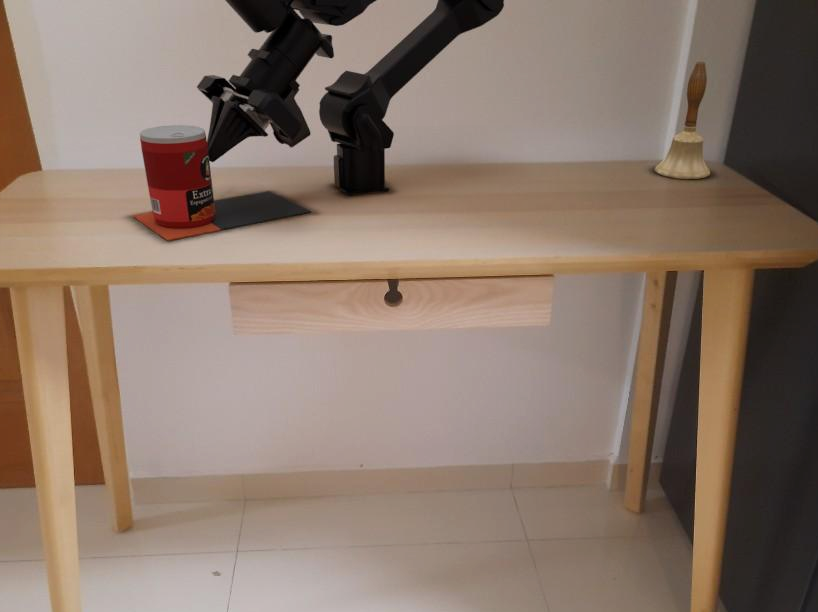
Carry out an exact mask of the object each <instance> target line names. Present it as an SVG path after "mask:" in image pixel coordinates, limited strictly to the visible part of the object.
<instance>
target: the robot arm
mask: <svg viewBox="0 0 818 612" xmlns="http://www.w3.org/2000/svg"><path fill="white" fill-rule="evenodd" d="M224 1H225V2H226V3H227V4H228V5H229V6H230V7H231V9H232V10H233V11H234V12H235V13H236V14H237V15H238V16H239V18H240V19H242V21H243V22H244V23H245V24H246V25H247V26H248V27H249V28H250V29H251V31H252V32H254V33H262V32H264V33H266V34H269V33H270V34H269V35H268V37H266V39H265V40H264V41H263V43H262V44H261V46H260V47H259V48H258V49H256V48H251V49H250V50H249V51H248V53H247V56H248V58H249V59H250V61H249V63H248V64H247V65H246V67H245V68H244V69H243V71H242V72H241V73H240V75H236V74H232V75H231V76H230V78H229V79H228V80H227V79H226V77H222V76H219V75H215V74H214V75H213V74H210V75H209V74H208V75H204V76H203V77H202V79H201V80H200V81H199V83H198V84H197V86H196V88H197V90H198V91H199V92H200V93H201V94H202V95H203V96H204V97H205V98H206V99H208V100H209V101H210V102H211V103H212V106H211V115H210V122H209V129H208V134H207V138H206V139H207V146H208V154H209V162H211V163H214V162H216V161H217V160H219V159H220V158H221V157H223V156H224V155H225V154H226V153H228V152H230V151H231V150H232V149H233V148H235V147H236V146H237V145H239V144H240V143H241V142H243V141H245V140H246V139H248V138H251V137H263V138H264V137H265V138H266V137H269V133H267V132H266V129H267V128H268V127H269V125H270V127H271V129H272V131H273V133H272V134H273V136H274V138H275V140H276V142H278V143H279V144H281V145H287V146H288V147H289V148H294V147H296V145H298V144H300V143H301V142H303V141H304V140H306V139H307V138H308V137H310V136H311V135H312V134H311V133H312V132H311V129H310V128H309V125H308V123H307V121H306V118H305V116H304V114H303V112H302V109H301V108H300V106H299V105H298V103H297V100H296V98H295V97H296V96H297V94H298V93H299V91H300V87H301V85H300V83H298V81H297V80H298V78H299V77H300V75H301V74H302V72H304V70H305V69H306V67H307V66H308V65H309V63H310V62H311V60H312V59H313V58H314V56H315V55H316V56H317V57H321V58H327V59H334V57H335V51H334V47H333V35H331V34H327V33H322V32H321V31H320V30H319V28H318V27H317V26H316V25H315V24H320V25H328V26H334V27H339V26H340V27H341V26H344V25H346V24H348V23H349V22H350V21H352V20H354V19H355V18H357V17H359V16H360V15H362V14H363V13H364V12H365V11H367V9H368V7H370V5H372V4H373V3H375V2H377V1H378V0H224ZM504 8H505V0H437V3H436V6H435V8H434V9H433V11H432V12H431V13H430V14H429V15H427V17H425V18H424V19H423V21H421V22H420V23H419V24H418V25H417V26H416V27H415V28H413V29H412V31H410V32H409V33H408V34H407V35H406V36H405V37H403V39H401V41H400V42H398V43H397V44H396V45H395V46H394V47H393V48H391V50H390V51H389V52H388V53H386V54H385V55H384V56H383V57H382V58H380V60H379V61H378V62H377V63H376V64H374V66H372V67H371V68H370V69H369V70H367V72H365V73H360V72H355V71H351V70H345V71H343V72H342V73H341V74H340V75H339V76H338V78H337V79H336V80H335V82H333V83H332V84H330V85H328V86H325V87H324V90H325V91H326V92H325V93H324V95H323V96H322V97H321V99H320V101H319V110H318V115H319V120H320V123H321V125H322V126H323V127H324V128H325V129H326V130H327V133H328V135H329V138H330V140H331V142H333V143H336V154H335V155H334V156H333V174H334V175H333V178H334V179H333V180H334V186H336V187H337V188H338V189H339V190H340V191H342V192H343V193H344V194H345V195H348V196H351V195H362V194H370V193H381V192H388V191H390V187H389V186H388V185H387V184H386V173H385V172H386V163H385V162H386V161H385V160H386V159H385V158H386V156H385V155H386V154H385V153H386V152H385V151H386V150H387V149H390V148H391V146H392V143H393V139H394V136H395V133H394V131H393V130H392V129H391V128H390V126H389V125H388V124H387V123H386V122H385V121H384V118H386V114H387V111H388V108H389V105H390V102H391V100H392V98H393V97H394V96H395V95H396V94H397V93H399V92H400V91H401V90H402V89H403V88H404V87H405V86H406V85H407V84H408V83H409V82H410V81H412V80H413V79H414V77H416V76H417V75H418V74H419V73H420V72H421V71H423V69H425V67H426V66H427V65H428V64H430V63H431V62H432V61H433V60H434V59H435V58H436V57H437V56H438V55H439V54H440V53H441V52H443V50H445V49H446V48H447V47H448V46H449V45H450V44H451V43H452V42H453V41H454V40H456V38H457V37H459V36H460V35H462V34H465V33H467V32H470V31H472V30H475V29H477V28H480V27H482V26H484V25H486V24H488V22H490V21H492V20H493V19H495V18H496V17H497V16H499V15H500V13H501V12H502V11H503V10H504ZM297 11H298V12H299V14H300V15H301V16H302V17H303V18H302V17H301V16H300V15H299V14H298V13H297Z"/></svg>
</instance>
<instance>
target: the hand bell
mask: <svg viewBox="0 0 818 612" xmlns="http://www.w3.org/2000/svg"><path fill="white" fill-rule="evenodd" d="M707 76H708V75H707V68H706V62H704V61H696V62H695V64H694V68H693V69H692V71H691V74H690V76H689V79H688V82H687V89H686V99H687V109H686V110H687V111H686V116H685V121H684V127H683V131H682V132H680V133H677V134H676V135H674V136H673V137H672V140H671V144H670V147H669V149H668V152H667V154H666V156H665V157H664V159H663V160H662V161H661V162H659V163H658V164H657V165H656V166H655V167H654V172H655V173H656V174H658V175H660V176H663V177H667V178H671V179H678V180H699V179H700V180H701V179H705V178H708V177H710V175H711V172H710V169H709V167H708V166H707V164H706V163H705V159H704V138H703V137H702V136H701V135H699V134H698V133H697V120H698V114H699V108H700V105H701V103H702V101H703V98H704V96H705V93H706V88H707V84H708V83H707V82H708V81H707V79H708V77H707Z"/></svg>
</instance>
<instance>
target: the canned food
mask: <svg viewBox="0 0 818 612" xmlns="http://www.w3.org/2000/svg"><path fill="white" fill-rule="evenodd" d="M207 139H208V138H207V133H206V129H204V128H202V127H200V126H196V125H188V124H169V125H159V126H153V127H149V128H145V129H143V130H141V131H140V132H139V140H140V146H141V148H140V149H141V154H142V159H143V165H144V171H145V176H146V177H145V178H146V182H147V183H146V184H147V189H148V194H149V200H150V206H151V212H153V217H154V219H155V221H156V222H157V223H158V224H159V225H161V226H164V227H169V228H192V227H198V226H202V225H205V224H208V223H210V222H211V221H212V220H213V219H214V217H215V205H214V201H215V197H214V189H213V180H212V171H211V163H210V161H209V154H208V146H207Z"/></svg>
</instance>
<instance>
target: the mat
mask: <svg viewBox="0 0 818 612" xmlns="http://www.w3.org/2000/svg"><path fill="white" fill-rule="evenodd" d="M214 205H215V217H214V219H213V220H212V221H211V222H210V223H212V224H213V225H215V226H217V227H218V228H220V229H221V231H226V230H230V229H231V230H232V229H235V228H240V227H245V226H250V225H251V226H252V225H255V224H260V223H265V222H270V221H275V220H280V219H285V218H291V217H296V216H301V215H306V214H311V213H312V210H310V209H308V208H305V207H304V206H302V205H299V204H296V203H295V202H293V201H291V200H289V199H287V198H285V197H282V196H280V195H278V194H276V193H274V192H273V191H270V190H268V191H262V192H257V193H251V194H246V195H239V196H235V197H229V198H228V197H227V198H223V199H217V200H214Z"/></svg>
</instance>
